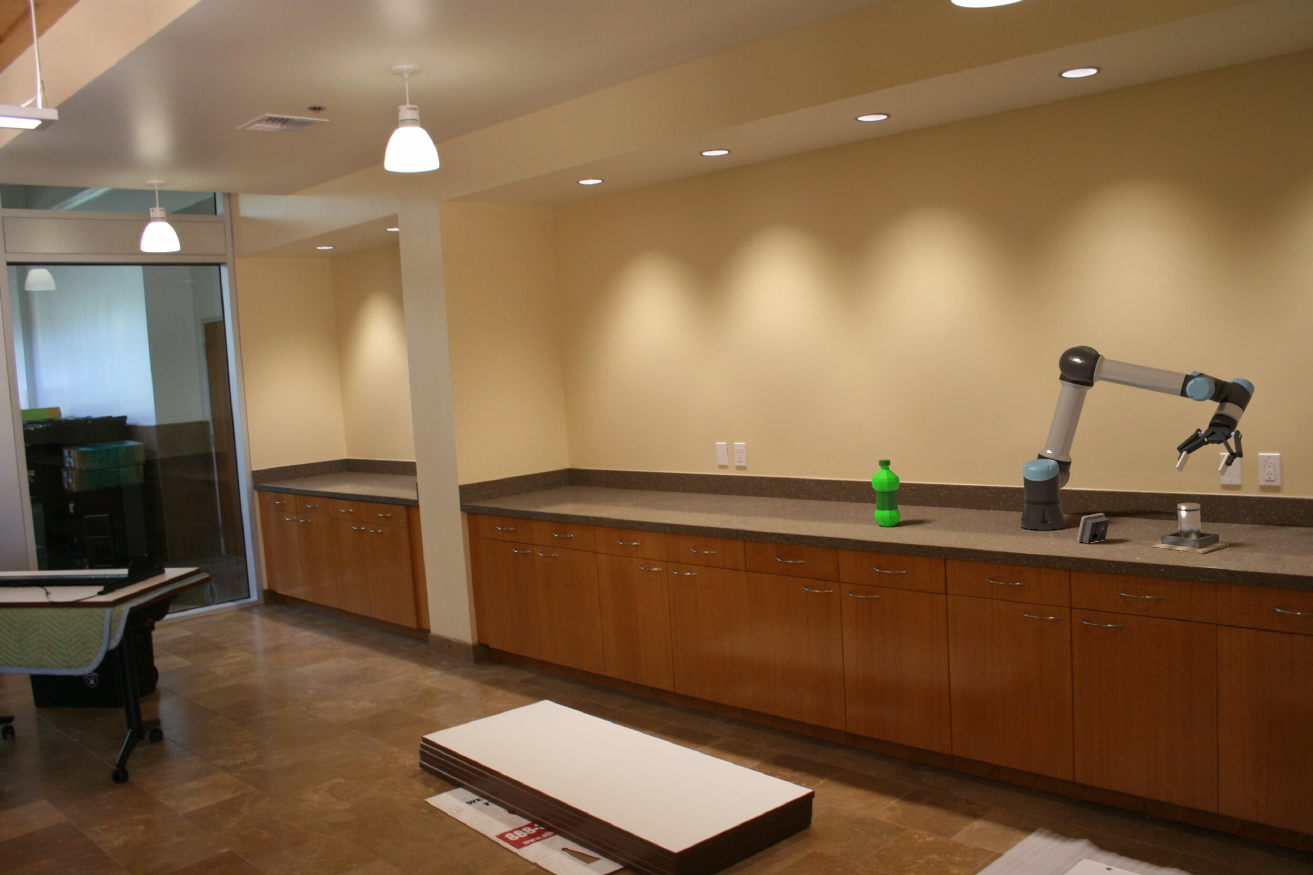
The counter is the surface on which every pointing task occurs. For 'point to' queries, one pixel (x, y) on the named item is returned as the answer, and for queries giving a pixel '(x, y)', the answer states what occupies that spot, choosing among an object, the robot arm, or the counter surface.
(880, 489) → the plastic bottle
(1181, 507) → the steel piston
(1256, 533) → the counter surface
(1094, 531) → the electrical switch
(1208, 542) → the collar plate
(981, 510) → the counter surface
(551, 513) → the counter surface
